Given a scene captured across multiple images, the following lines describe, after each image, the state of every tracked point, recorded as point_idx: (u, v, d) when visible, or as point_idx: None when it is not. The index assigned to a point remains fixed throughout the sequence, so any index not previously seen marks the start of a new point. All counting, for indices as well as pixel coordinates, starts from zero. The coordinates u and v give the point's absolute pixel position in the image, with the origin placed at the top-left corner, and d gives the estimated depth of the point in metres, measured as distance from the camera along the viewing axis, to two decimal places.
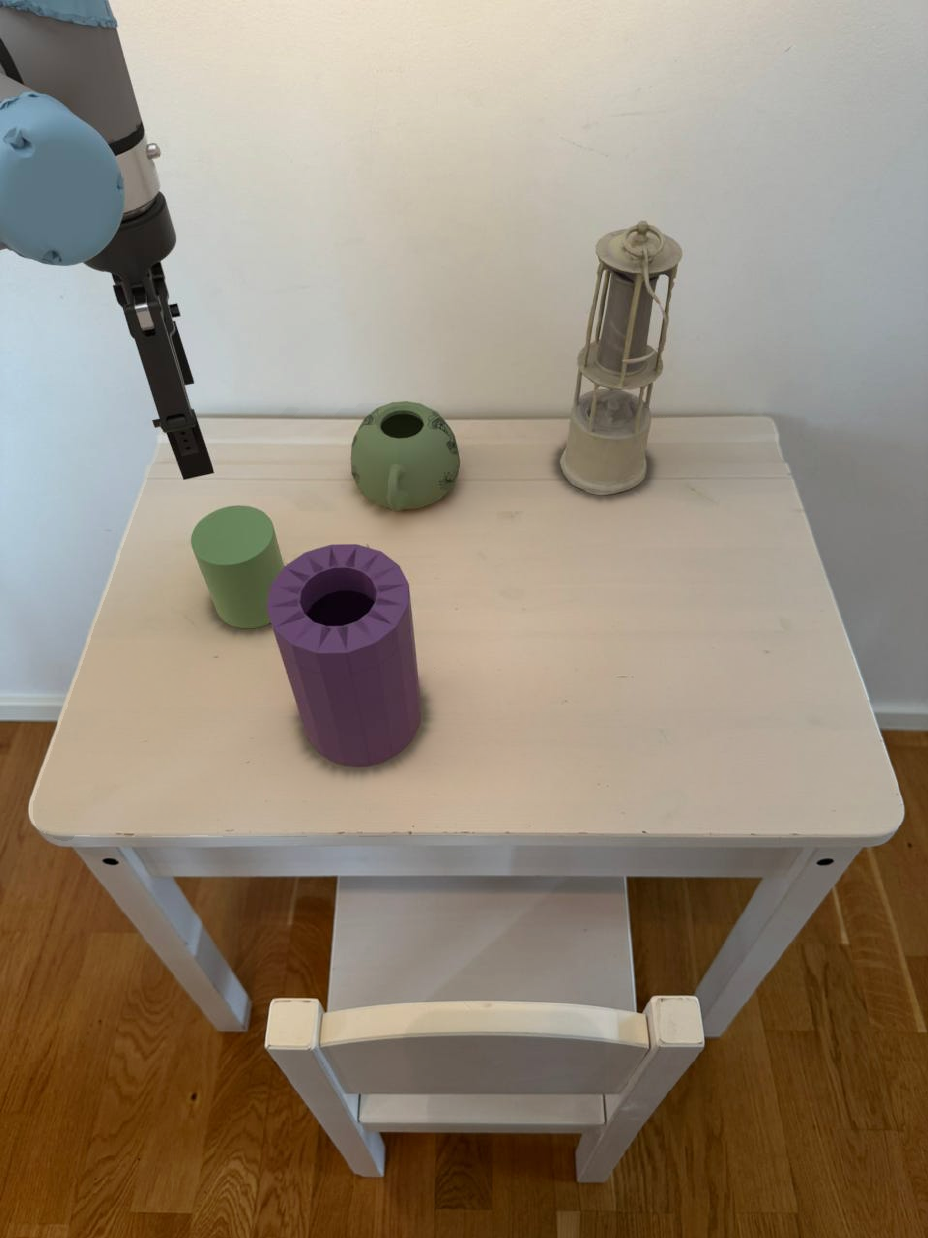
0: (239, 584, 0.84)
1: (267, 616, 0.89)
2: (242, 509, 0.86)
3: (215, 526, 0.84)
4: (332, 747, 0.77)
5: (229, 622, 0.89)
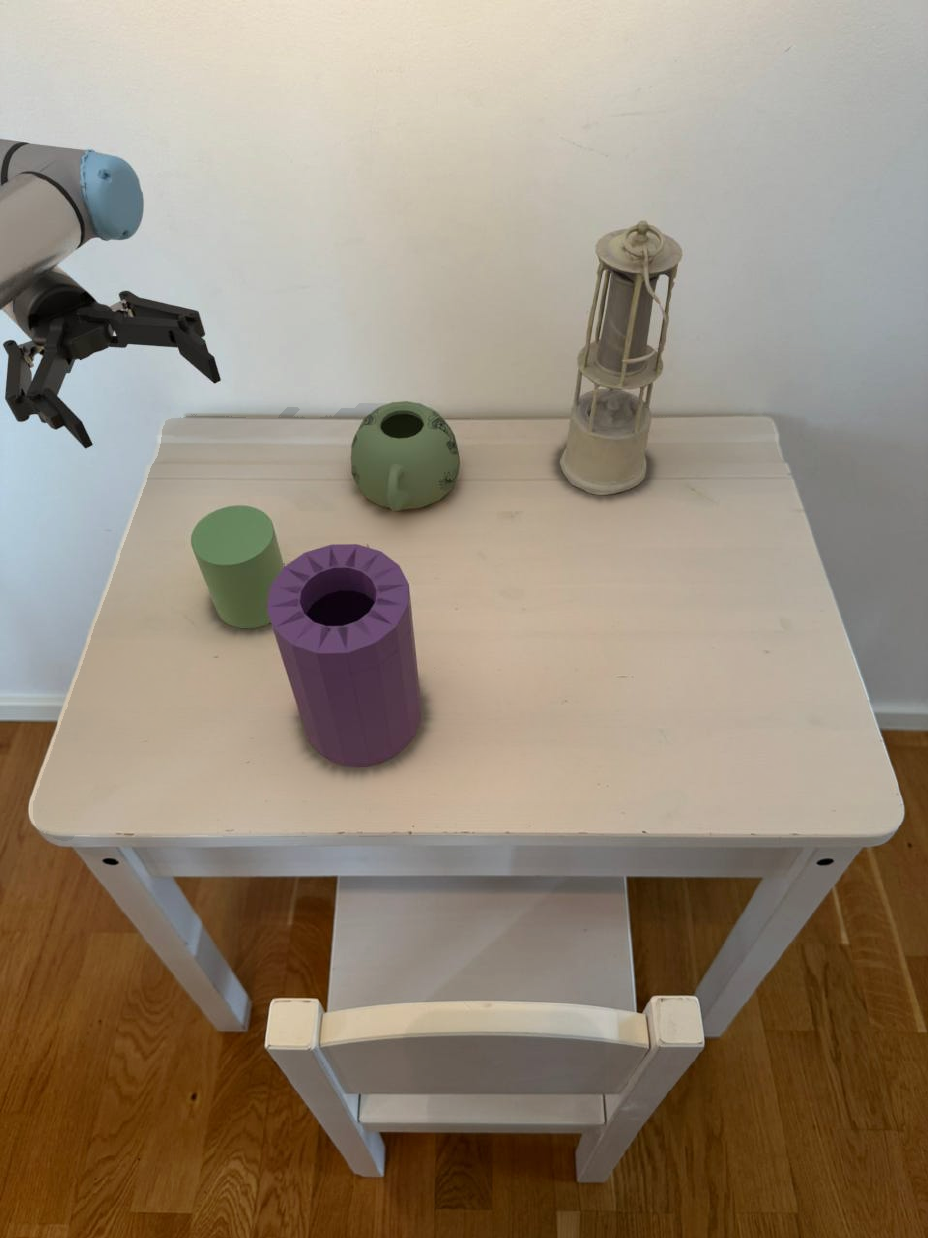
0: (239, 584, 0.84)
1: (267, 616, 0.89)
2: (242, 509, 0.86)
3: (215, 526, 0.84)
4: (332, 747, 0.77)
5: (229, 622, 0.89)
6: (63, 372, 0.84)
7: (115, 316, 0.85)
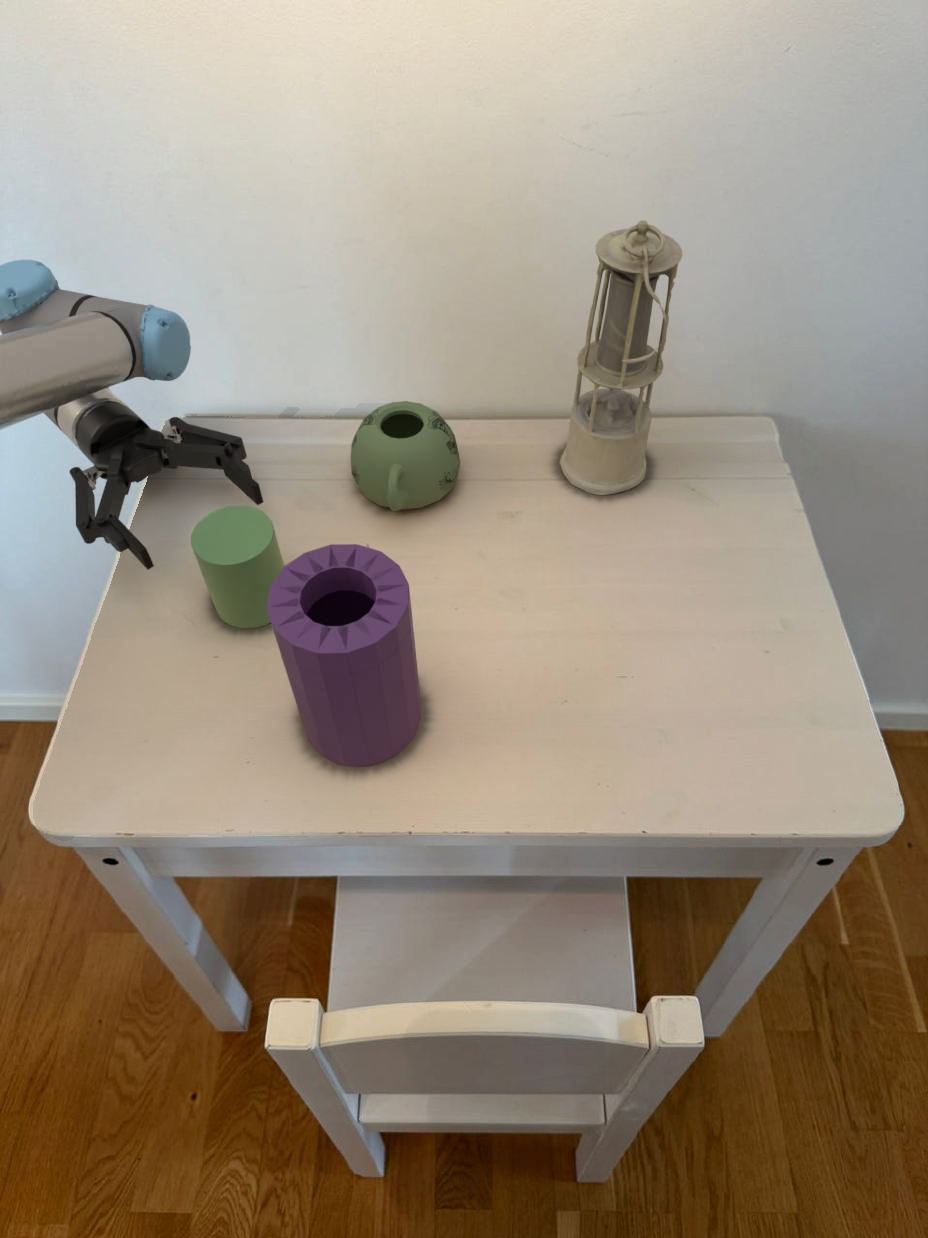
0: (239, 584, 0.84)
1: (267, 616, 0.89)
2: (242, 509, 0.86)
3: (215, 526, 0.84)
4: (332, 747, 0.77)
5: (229, 622, 0.89)
6: (123, 495, 0.94)
7: (168, 444, 0.96)
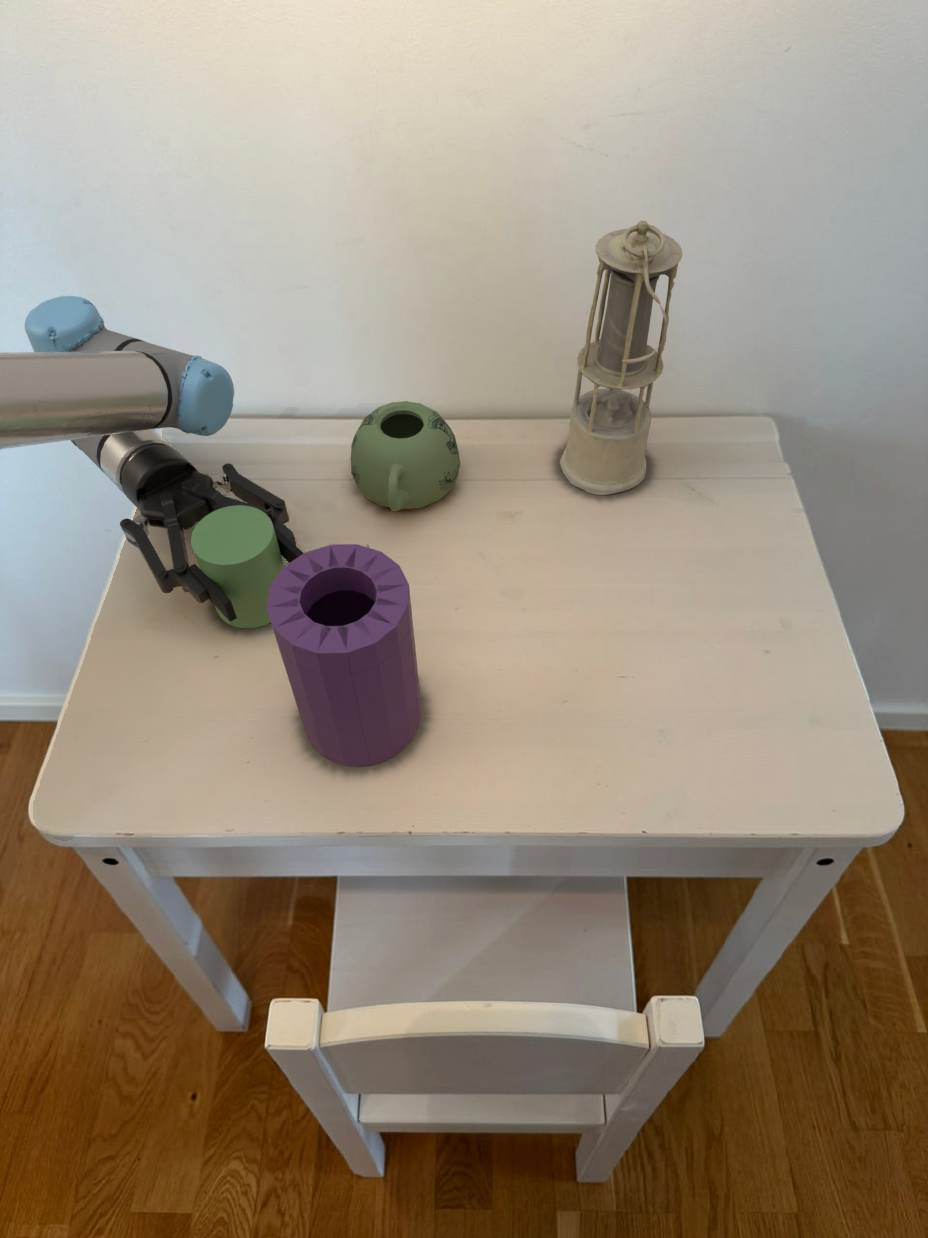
0: (239, 584, 0.84)
1: (267, 616, 0.89)
2: (242, 509, 0.86)
3: (215, 526, 0.84)
4: (332, 747, 0.77)
5: (229, 622, 0.89)
6: (184, 541, 0.90)
7: (213, 495, 0.91)
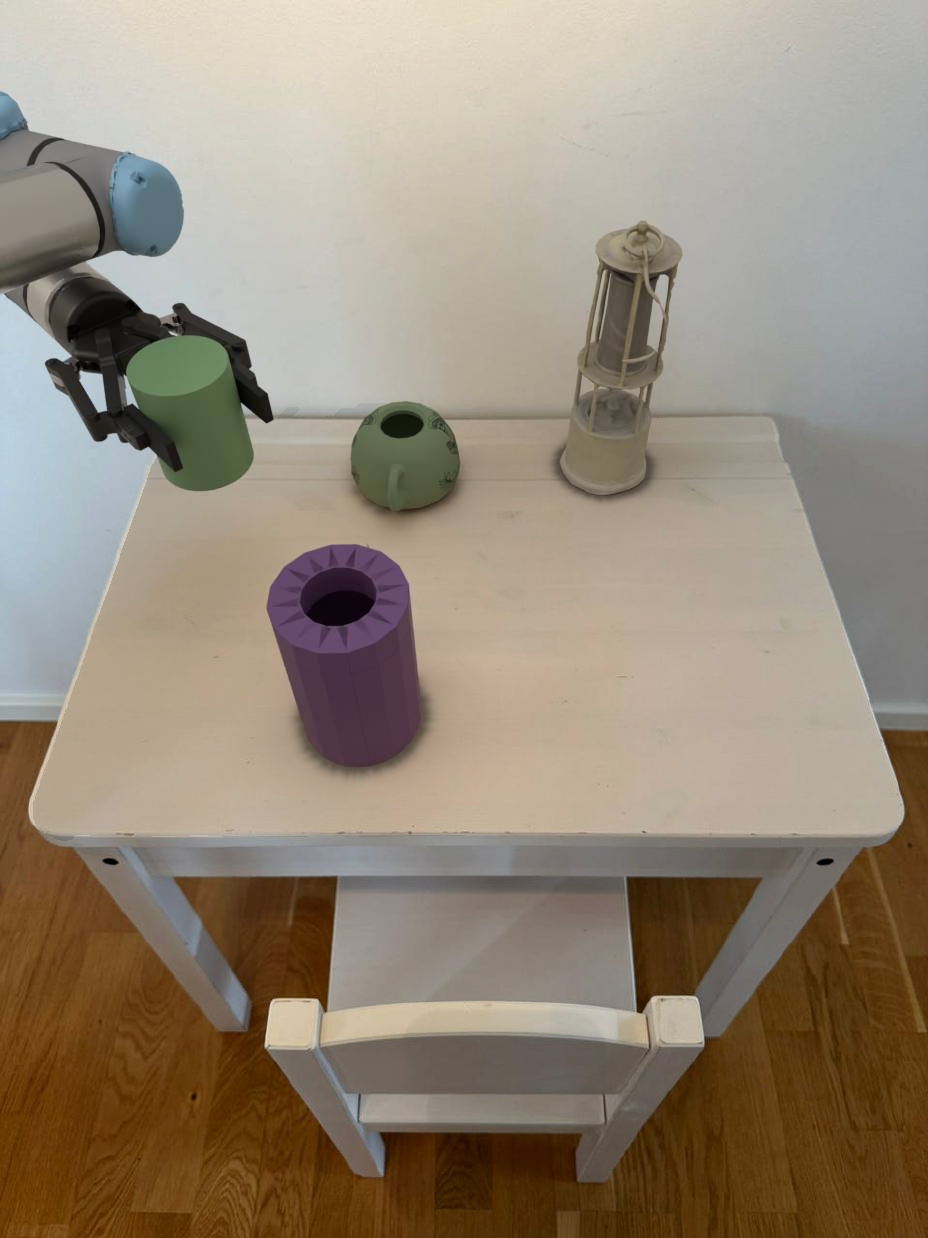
0: (185, 426, 0.68)
1: (224, 475, 0.73)
2: (191, 339, 0.70)
3: (157, 356, 0.69)
4: (332, 747, 0.77)
5: (177, 483, 0.74)
6: (123, 387, 0.74)
7: (160, 333, 0.75)
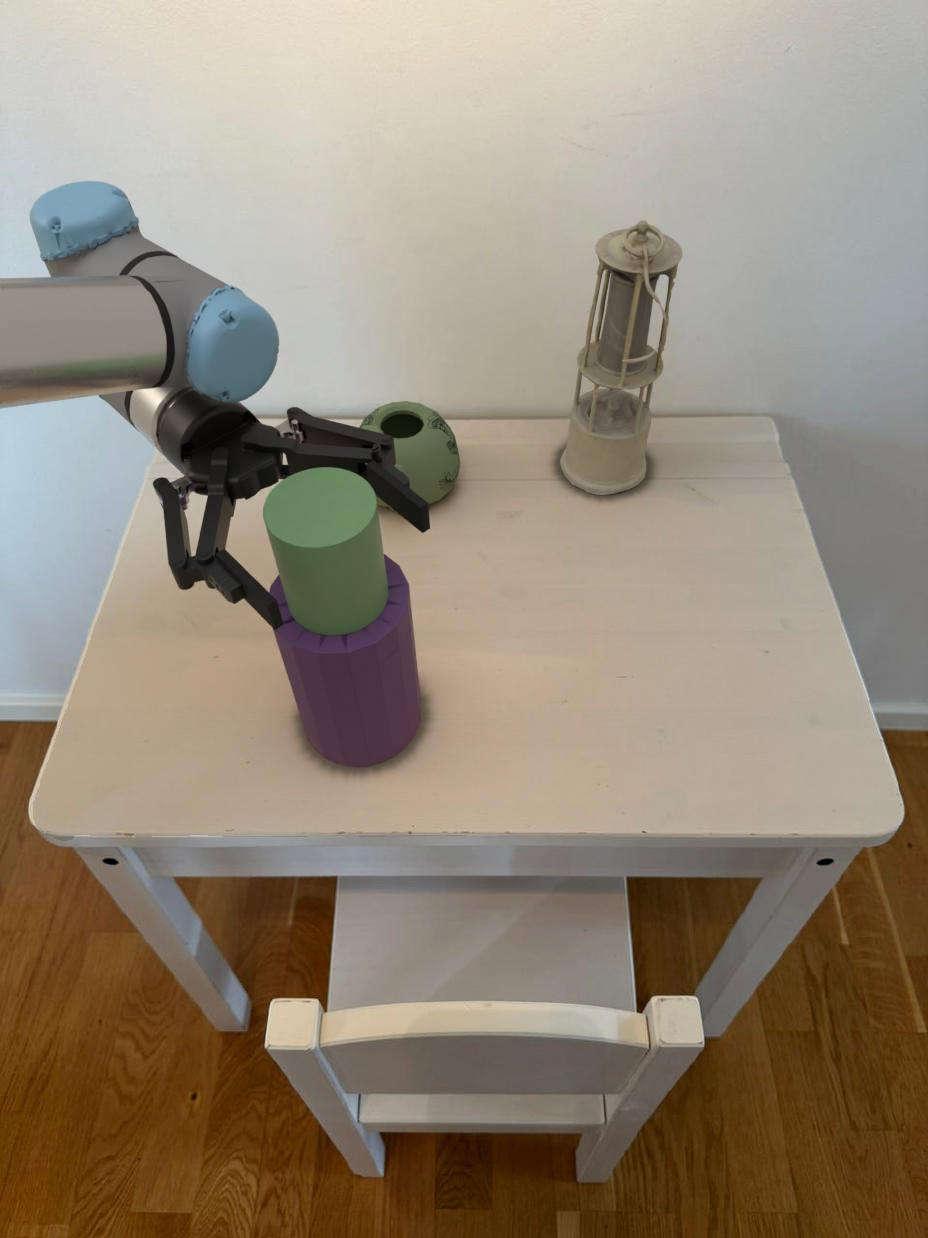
0: (329, 575, 0.60)
1: (361, 618, 0.65)
2: (330, 472, 0.63)
3: (295, 495, 0.61)
4: (332, 747, 0.77)
5: (308, 627, 0.66)
6: (228, 518, 0.66)
7: (290, 445, 0.68)
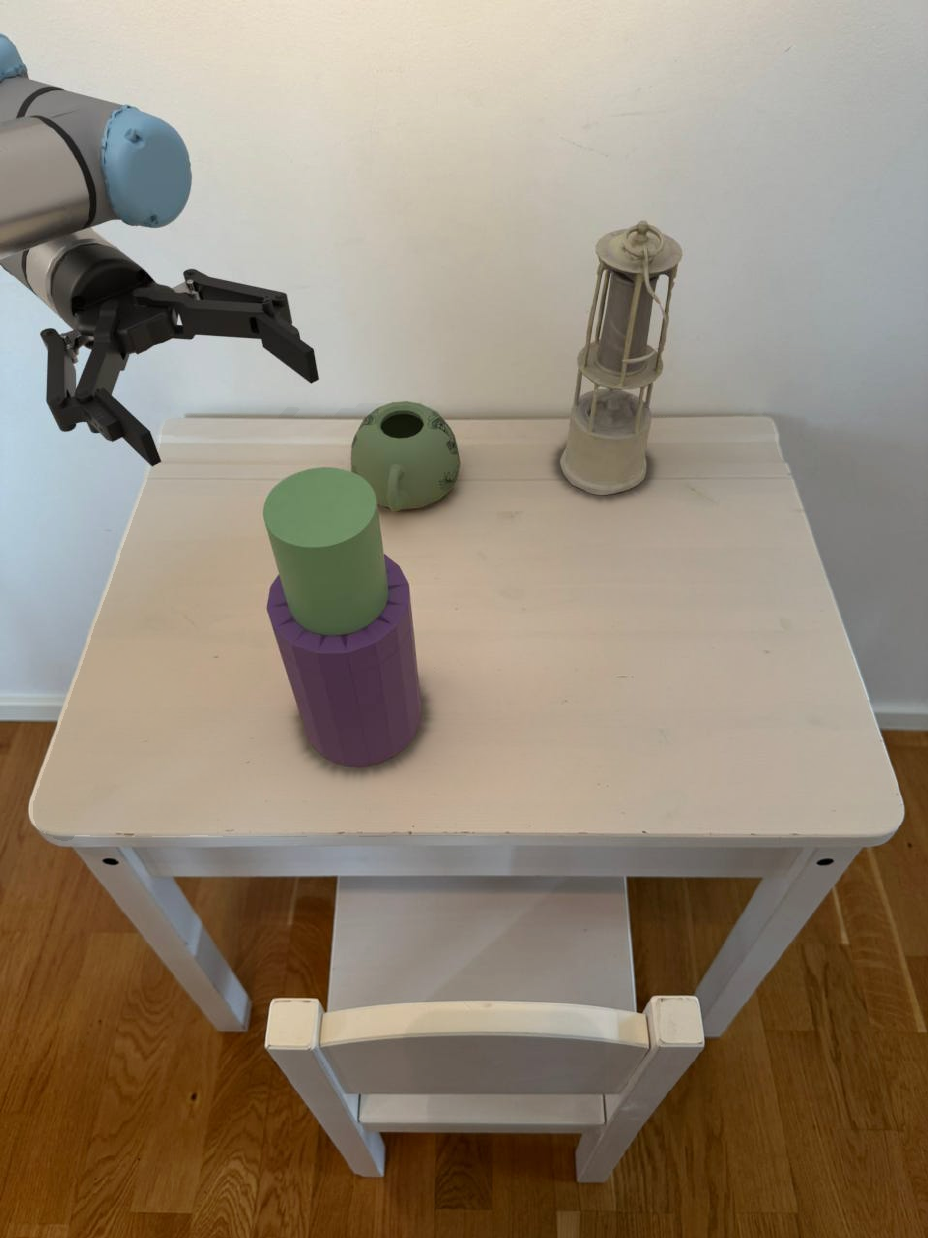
0: (329, 575, 0.60)
1: (361, 618, 0.65)
2: (330, 472, 0.63)
3: (295, 495, 0.61)
4: (332, 747, 0.77)
5: (308, 627, 0.66)
6: (117, 369, 0.66)
7: (182, 299, 0.67)
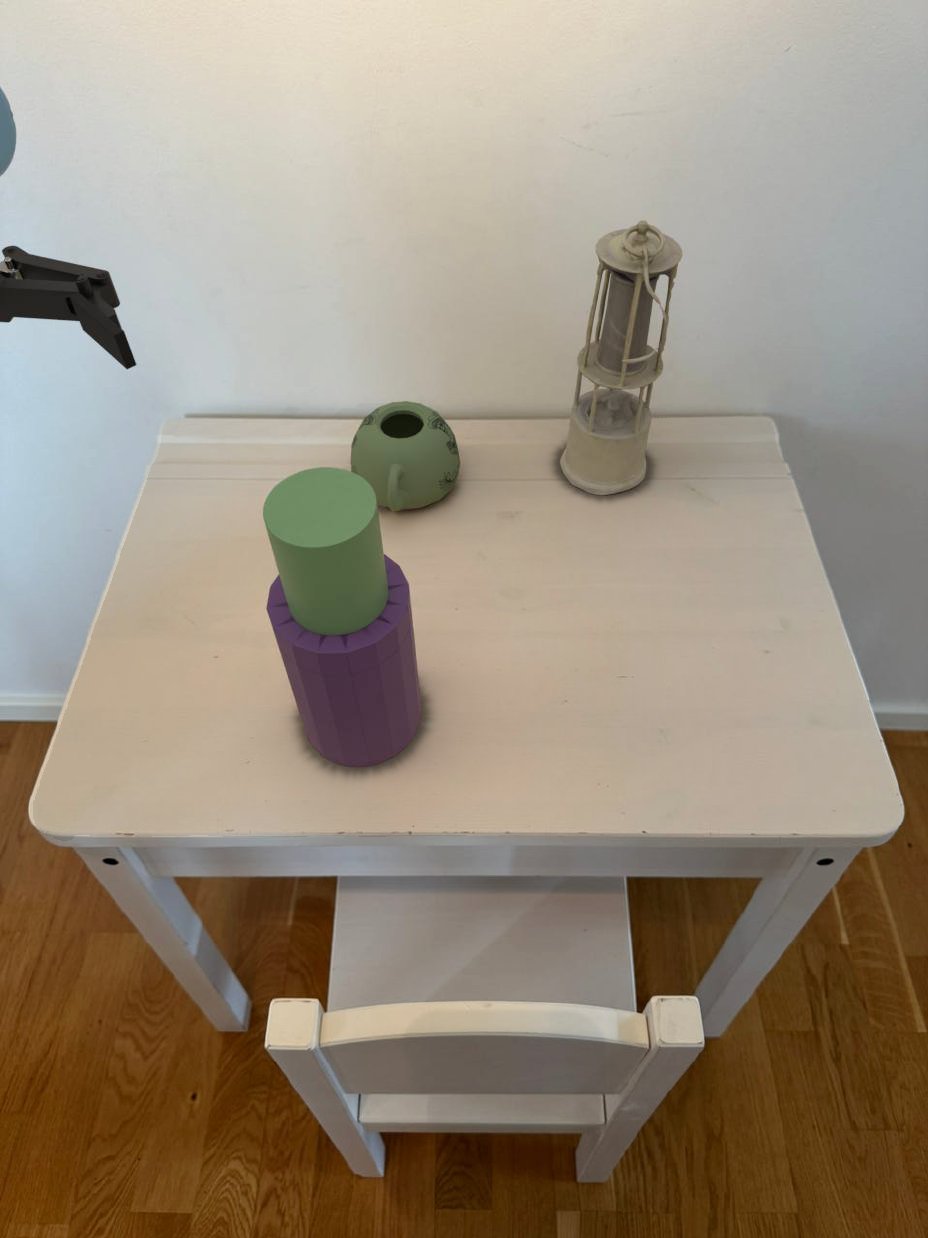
0: (329, 575, 0.60)
1: (361, 618, 0.65)
2: (330, 472, 0.63)
3: (295, 495, 0.61)
4: (332, 747, 0.77)
5: (308, 627, 0.66)
6: None
7: None
